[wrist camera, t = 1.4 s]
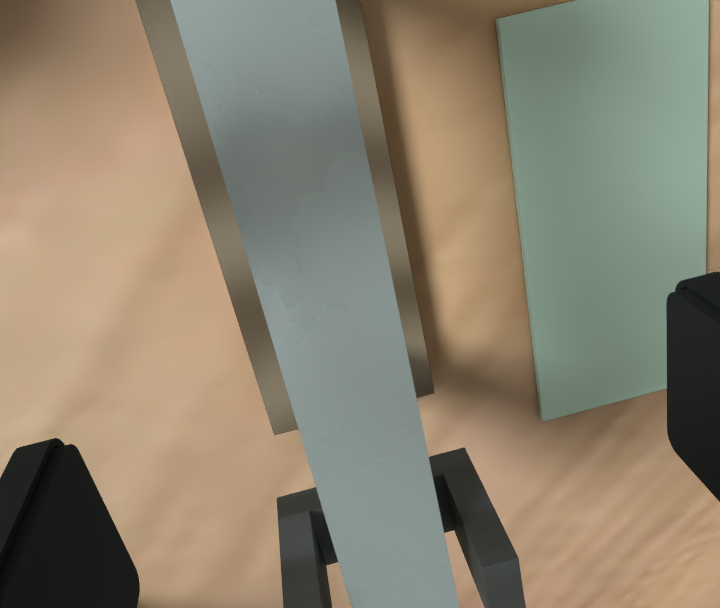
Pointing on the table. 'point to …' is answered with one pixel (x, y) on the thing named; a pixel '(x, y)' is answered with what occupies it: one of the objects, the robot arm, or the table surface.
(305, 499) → the hook stand
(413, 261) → the table surface
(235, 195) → the rail
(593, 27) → the mat
